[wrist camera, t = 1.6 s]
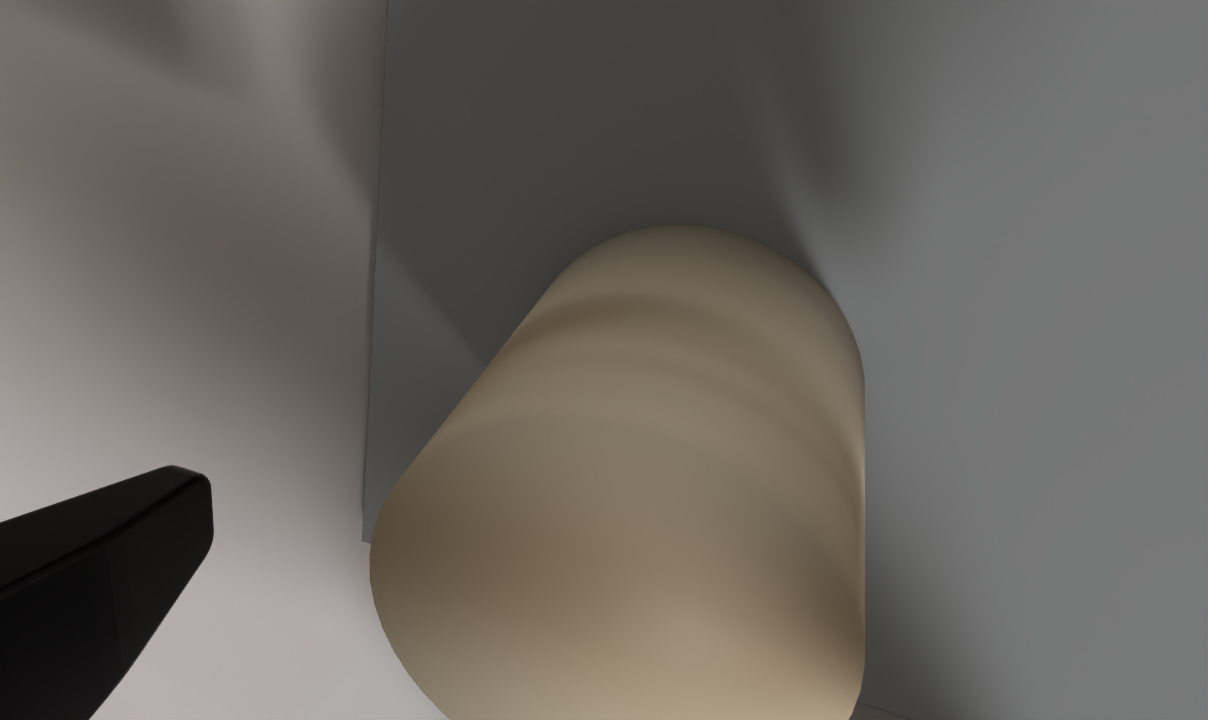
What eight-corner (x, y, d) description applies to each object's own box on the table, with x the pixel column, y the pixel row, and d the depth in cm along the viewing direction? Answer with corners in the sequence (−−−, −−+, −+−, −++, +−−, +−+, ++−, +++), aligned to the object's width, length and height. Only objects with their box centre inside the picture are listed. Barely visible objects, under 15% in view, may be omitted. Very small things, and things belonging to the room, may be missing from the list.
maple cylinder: (806, 564, 14) (780, 862, 10) (507, 472, 15) (360, 714, 10) (917, 280, 12) (947, 513, 7) (550, 184, 12) (380, 348, 8)
